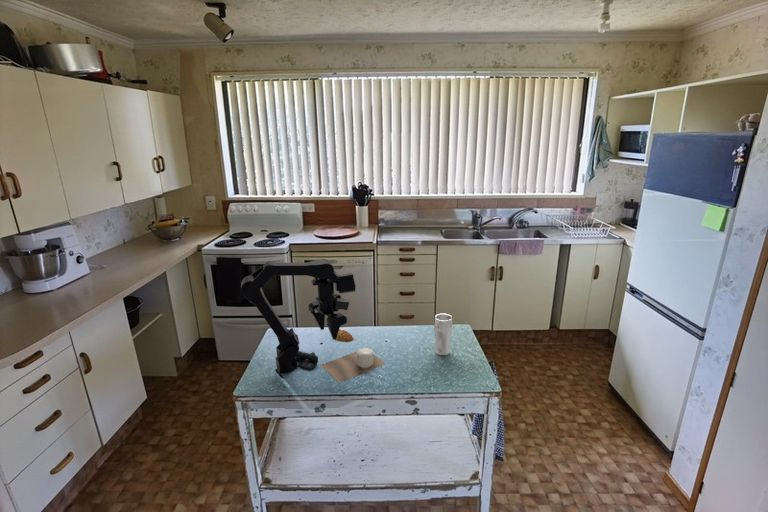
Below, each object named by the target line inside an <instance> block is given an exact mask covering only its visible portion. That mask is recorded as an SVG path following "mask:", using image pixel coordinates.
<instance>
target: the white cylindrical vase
mask: <svg viewBox="0 0 768 512" xmlns="http://www.w3.org/2000/svg"><path fill="white" fill-rule="evenodd" d="M433 324H434V325H433V326H434V328H433V331H434V338H435V339H434V340H435V347H434V354H436V355H437V356H441V355H442V356H441V357H444V356H443V355H446V356H448V355H450V354H449V353H451V348H450V344H451V338H452V333H453V316H452V315H450V314H447V313H437V314H436V315H434V323H433Z"/></svg>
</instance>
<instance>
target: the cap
mask: <svg viewBox="0 0 768 512" xmlns="http://www.w3.org/2000/svg"><path fill="white" fill-rule="evenodd" d="M373 354H374V351H373V350H372V349H371V348H367V347H366V348H365V347H362V348H360V349H357V365H358V366H360V367H362V368H368V367H370V366H372V365H373Z"/></svg>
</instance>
